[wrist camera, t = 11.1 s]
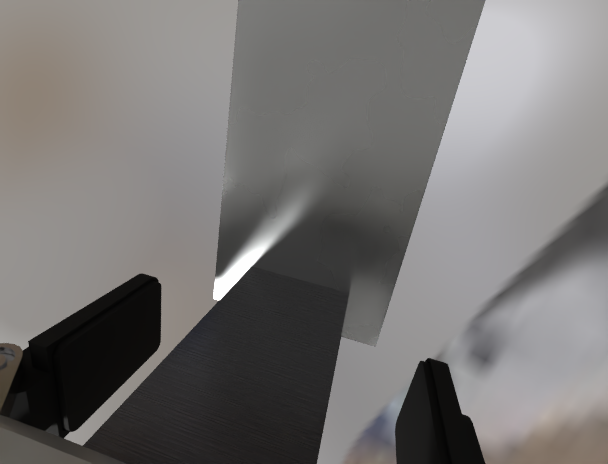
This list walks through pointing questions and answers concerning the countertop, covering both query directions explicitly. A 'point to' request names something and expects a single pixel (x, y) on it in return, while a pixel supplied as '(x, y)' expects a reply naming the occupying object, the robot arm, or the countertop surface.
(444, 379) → the robot arm
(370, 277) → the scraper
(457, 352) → the countertop surface
